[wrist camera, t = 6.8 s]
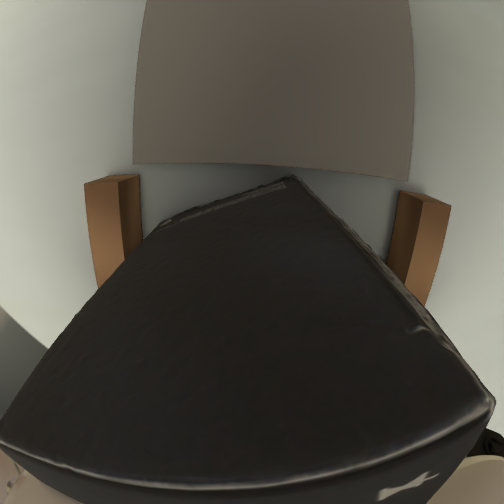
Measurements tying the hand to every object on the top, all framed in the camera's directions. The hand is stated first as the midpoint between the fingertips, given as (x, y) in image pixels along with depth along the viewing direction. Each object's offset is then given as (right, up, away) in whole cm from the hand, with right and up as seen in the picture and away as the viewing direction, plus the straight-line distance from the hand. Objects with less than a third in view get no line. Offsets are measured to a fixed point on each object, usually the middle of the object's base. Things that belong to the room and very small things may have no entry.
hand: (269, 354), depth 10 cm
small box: (0, +1, +3) cm, 3 cm away
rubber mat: (+1, +13, -2) cm, 13 cm away
